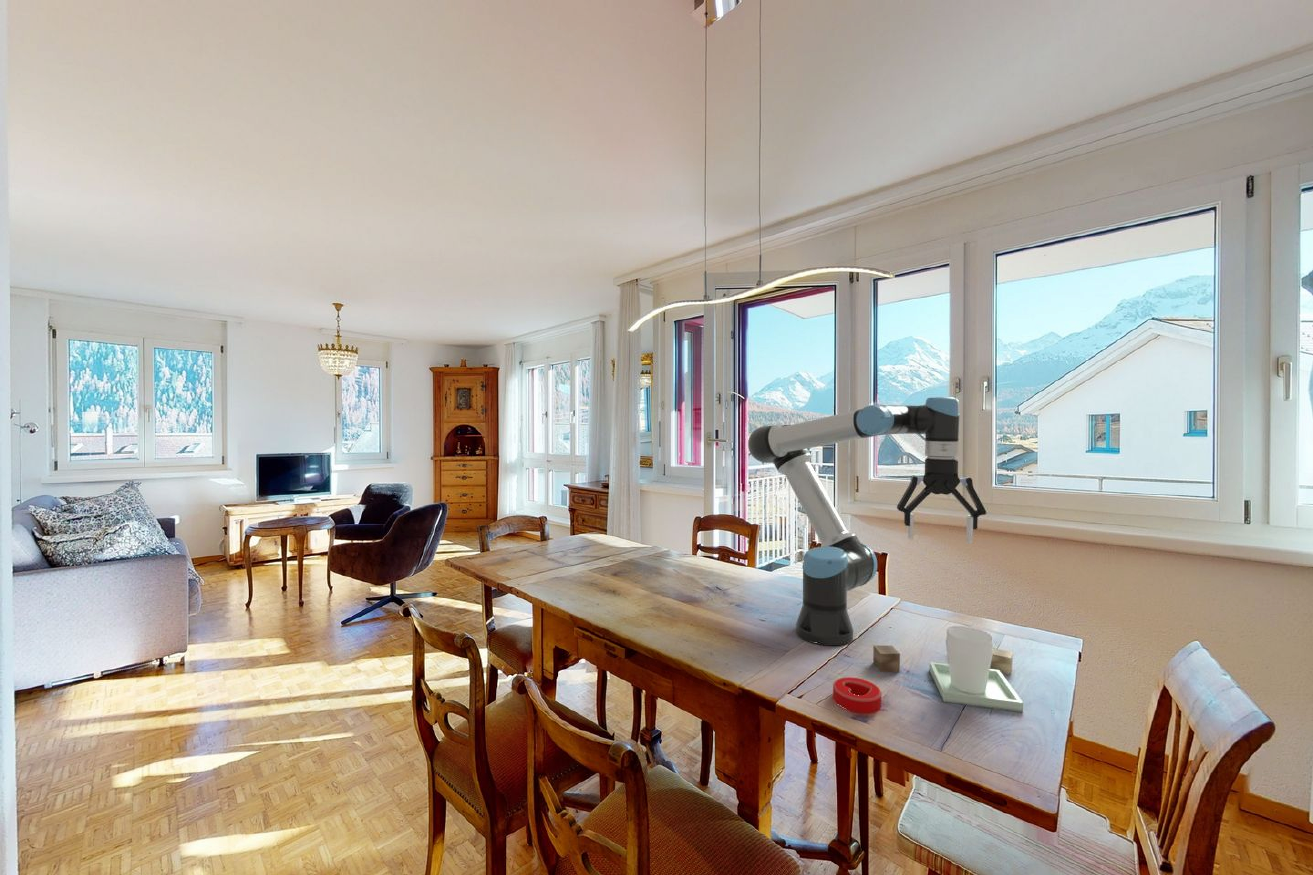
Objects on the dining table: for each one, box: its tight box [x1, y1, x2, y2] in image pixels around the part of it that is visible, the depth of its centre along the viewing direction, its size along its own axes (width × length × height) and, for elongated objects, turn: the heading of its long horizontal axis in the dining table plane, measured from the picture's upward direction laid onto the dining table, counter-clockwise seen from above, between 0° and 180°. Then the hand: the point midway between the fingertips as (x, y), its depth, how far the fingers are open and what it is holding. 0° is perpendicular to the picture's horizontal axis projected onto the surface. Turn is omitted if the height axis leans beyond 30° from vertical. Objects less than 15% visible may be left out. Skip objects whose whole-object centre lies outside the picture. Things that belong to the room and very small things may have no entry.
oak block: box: [990, 647, 1014, 675], centre depth 128 cm, size 5×4×4 cm
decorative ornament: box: [832, 676, 882, 715], centre depth 114 cm, size 10×10×3 cm
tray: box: [928, 661, 1024, 713], centre depth 118 cm, size 15×15×2 cm
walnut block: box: [872, 644, 901, 673], centre depth 129 cm, size 4×4×4 cm
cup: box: [945, 625, 994, 694], centre depth 118 cm, size 9×9×12 cm
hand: (939, 540), depth 137 cm, fingers open, 13 cm apart
